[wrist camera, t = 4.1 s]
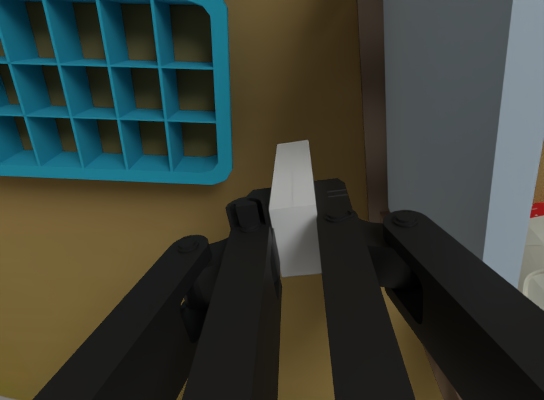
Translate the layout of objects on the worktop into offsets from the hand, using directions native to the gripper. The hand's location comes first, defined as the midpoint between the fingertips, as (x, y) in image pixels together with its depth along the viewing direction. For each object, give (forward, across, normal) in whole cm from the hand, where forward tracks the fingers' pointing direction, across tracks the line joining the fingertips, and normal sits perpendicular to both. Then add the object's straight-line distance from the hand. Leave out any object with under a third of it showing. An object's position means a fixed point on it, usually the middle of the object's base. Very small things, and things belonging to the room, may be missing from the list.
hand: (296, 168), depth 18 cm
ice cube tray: (+9, +14, -5) cm, 17 cm away
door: (+7, -7, -1) cm, 10 cm away
